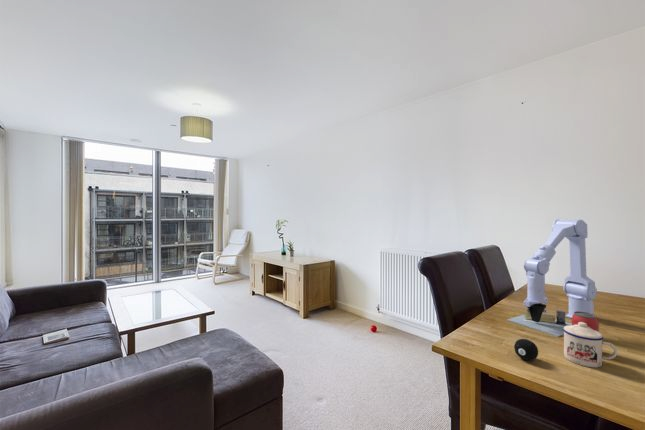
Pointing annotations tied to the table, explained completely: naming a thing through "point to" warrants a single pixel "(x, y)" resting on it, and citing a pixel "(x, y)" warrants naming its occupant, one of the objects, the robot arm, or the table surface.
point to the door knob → (560, 318)
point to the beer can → (586, 320)
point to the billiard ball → (526, 349)
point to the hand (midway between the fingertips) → (535, 321)
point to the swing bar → (545, 316)
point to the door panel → (540, 325)
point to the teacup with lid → (585, 345)
